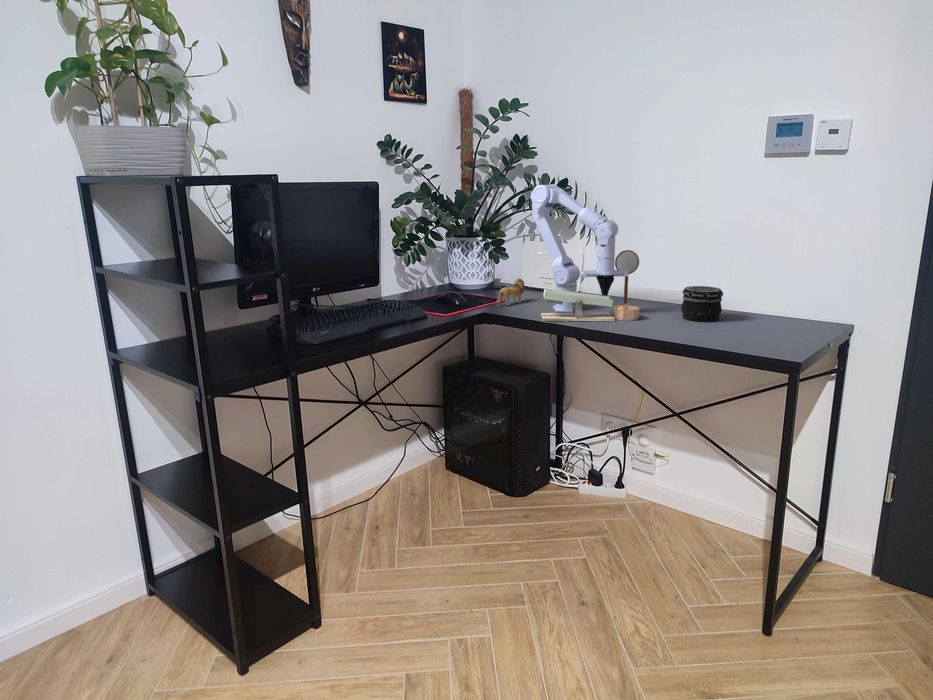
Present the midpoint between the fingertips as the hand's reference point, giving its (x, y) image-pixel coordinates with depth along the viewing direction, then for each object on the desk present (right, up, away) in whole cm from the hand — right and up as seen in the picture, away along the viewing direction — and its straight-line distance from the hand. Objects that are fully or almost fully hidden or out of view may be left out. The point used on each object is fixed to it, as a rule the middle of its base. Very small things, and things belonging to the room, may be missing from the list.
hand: (604, 297), depth 224 cm
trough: (-10, -2, -3) cm, 11 cm away
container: (+30, -8, -8) cm, 32 cm away
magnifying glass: (+10, -2, +14) cm, 18 cm away
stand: (-10, -7, -5) cm, 13 cm away
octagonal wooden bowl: (+6, -7, -6) cm, 11 cm away
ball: (+4, -5, -6) cm, 9 cm away
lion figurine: (-30, -1, +21) cm, 37 cm away
